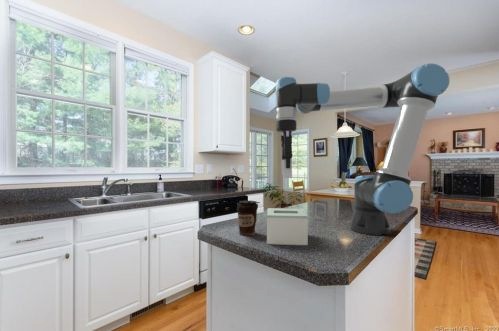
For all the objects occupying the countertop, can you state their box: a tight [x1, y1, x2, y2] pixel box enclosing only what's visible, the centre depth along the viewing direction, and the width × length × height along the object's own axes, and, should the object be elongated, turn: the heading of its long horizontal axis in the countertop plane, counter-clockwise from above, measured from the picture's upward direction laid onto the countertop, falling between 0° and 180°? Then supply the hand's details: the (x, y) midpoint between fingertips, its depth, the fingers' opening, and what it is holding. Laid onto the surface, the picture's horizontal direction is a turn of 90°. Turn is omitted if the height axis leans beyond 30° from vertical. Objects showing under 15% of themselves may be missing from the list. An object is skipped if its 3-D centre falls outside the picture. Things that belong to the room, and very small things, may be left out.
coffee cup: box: [236, 200, 259, 236], centre depth 96 cm, size 9×8×13 cm
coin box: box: [266, 207, 309, 246], centre depth 90 cm, size 14×14×10 cm
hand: (286, 177), depth 90 cm, fingers open, 13 cm apart
